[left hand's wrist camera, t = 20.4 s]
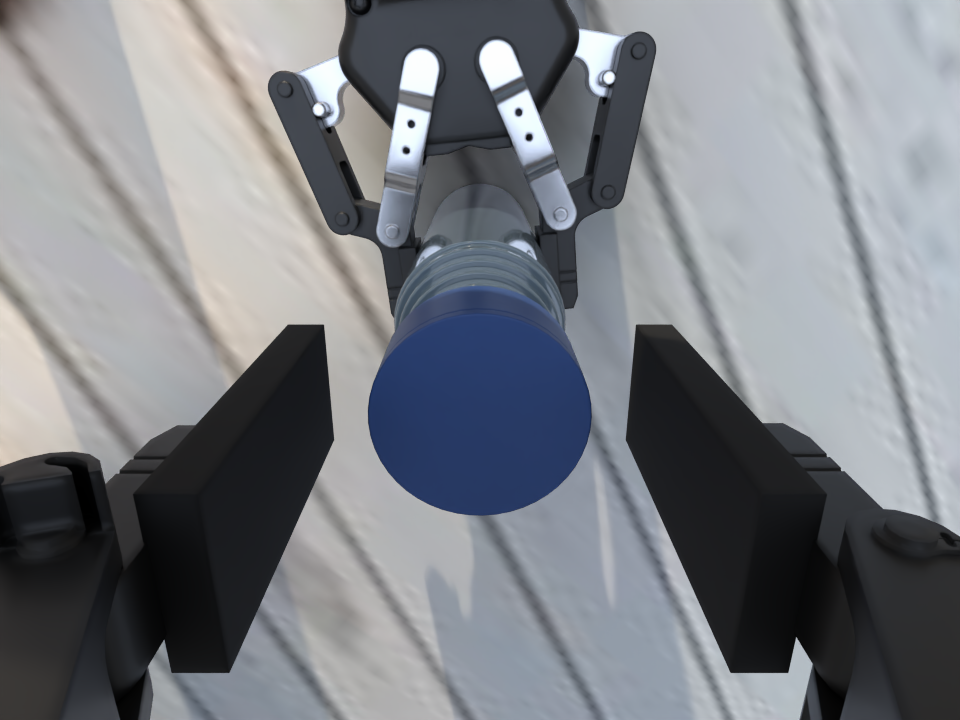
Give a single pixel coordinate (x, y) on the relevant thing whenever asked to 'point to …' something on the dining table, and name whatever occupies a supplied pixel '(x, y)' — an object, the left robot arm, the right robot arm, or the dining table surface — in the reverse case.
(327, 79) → the right robot arm
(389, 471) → the cap
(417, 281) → the bottle
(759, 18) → the dining table surface
